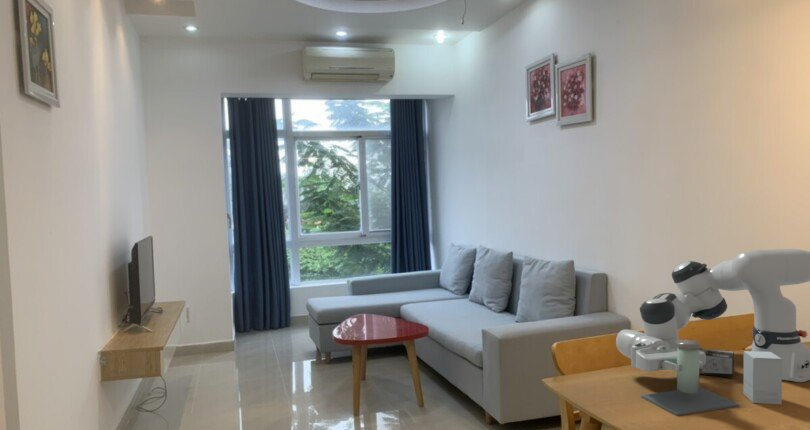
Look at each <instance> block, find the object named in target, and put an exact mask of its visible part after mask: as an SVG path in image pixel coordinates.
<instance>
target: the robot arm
mask: <svg viewBox="0 0 810 430" xmlns="http://www.w3.org/2000/svg"><path fill="white" fill-rule="evenodd" d="M707 266H708V264H706V263H700V262H698V261H694V260H693V261H692V260H691V261H690V260H689V261H686V262H685V261H684V262H682V263H680V264H678V265H677V266H676V267H675V268H674V269H673V270H672V273H671V278H672V280H673V283H674V284H676V287H677V288H678V290H679V291H680V292H678V291H672V292H666V293H660V294H657V295H656V296H654V297H652V298H651V299H650V298H649V299H647V300H645V301H643V303H641V305H640V307H639V312H640V317H641V320H642V325H643V331H644V333H643V332H640V331H637V330H633V329H621V330H620V331H619V332H618V334H617V335H616V339H615V344H616V348H617V350H618V351H619V352H620V353H621V354H622V355H623V356H625V357H626V358H628V359H630V362H631V363H630V364H631V367H632V368H634V369H638V370H642V371H644V372H657V371H658V372H659V371H665V370H667V371H674V372H676V373H677V372H678V371H682V365H680V364H678V363H677V346H676V341H678V340H680V339H679V332H678V331H680V330H682V329H684V328H685V327H686V326H687V325H688V323H689V322H690V319H691V318H695V319H697V318H698V319H699V320H703V321H704V320H705V321H709V320H710V321H711V320H715V319H718V318H720V317H721V316H723V315H724V314H725V312H726V311H727V309H728V304H727V300H726V299H725V297H723V295H722V294H721V292H720V290H722V291H728V292H729V291H730V292H732V291H733V292H736V291H745V290H748V292H749V295H750V296H751V299H752V303H753V314H754V315H753V316H754V317H753V318H754V319H753V321H754V325H753V327H752V339H753V341H752V343H751V350H750V351H764V352H772V353H774V354H775V355H777V356H778V357H780V358H781V359H782V381H791V382H796V383H805V382H807V381H810V348H809V347H808V346H807V345H806V344H804V343H803V342H802V340H801V337H802V338H805V339H806V338H807V336H808V332H807V330H802V329H799V330H797V307H796V305H795V303H794V302H793V301H792V300H791V299H789V298H787V297H785V296H784V295H783V294H782V291H781V287H783V286H791V285H793V286H794V285H799V284H804V283H805V284H806V283H809V282H810V251H808V250H803V249H797V248H780V249H779V248H777V249H753V250H749V251H747V250H746V251H744V252H740V253H737V255H735V256H734V257H733V258H729V259H726V260H724V261H722V262H721V261H720V262H719V263H717V264H716V265H714V266H712V267H710V268H708V267H707ZM705 363H706V355H705V353H704V352H703V351H699V369H702V368H703V365H705Z"/></svg>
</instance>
